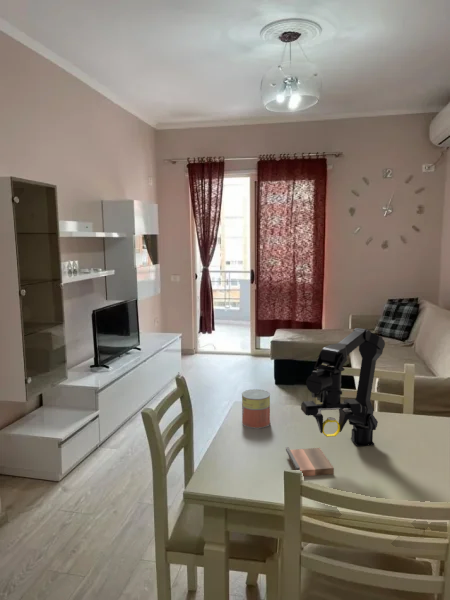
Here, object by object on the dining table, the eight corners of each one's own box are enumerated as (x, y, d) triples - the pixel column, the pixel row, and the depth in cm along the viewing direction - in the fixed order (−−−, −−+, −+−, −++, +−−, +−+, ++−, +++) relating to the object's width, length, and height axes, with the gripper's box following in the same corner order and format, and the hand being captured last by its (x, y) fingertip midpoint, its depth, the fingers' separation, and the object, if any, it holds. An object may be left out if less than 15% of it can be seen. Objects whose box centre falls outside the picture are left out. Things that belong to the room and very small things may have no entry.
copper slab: (319, 453, 158) (319, 445, 158) (333, 474, 145) (333, 465, 144) (285, 455, 157) (285, 447, 157) (296, 476, 143) (296, 467, 143)
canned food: (244, 416, 192) (244, 388, 190) (271, 418, 189) (271, 390, 188) (239, 427, 181) (239, 398, 179) (268, 429, 178) (268, 399, 177)
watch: (337, 434, 152) (338, 417, 151) (340, 437, 149) (342, 420, 149) (319, 434, 151) (321, 416, 151) (322, 437, 149) (324, 420, 148)
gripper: (349, 377, 157) (347, 420, 159) (296, 379, 155) (295, 423, 157) (363, 387, 146) (361, 434, 148) (306, 390, 144) (305, 437, 146)
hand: (330, 432), depth 150 cm, fingers closed on watch, 6 cm apart
